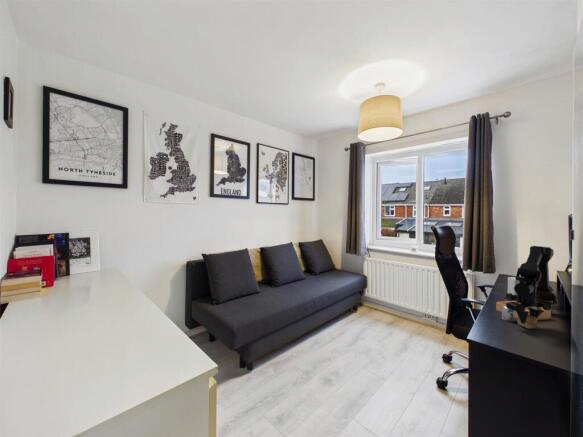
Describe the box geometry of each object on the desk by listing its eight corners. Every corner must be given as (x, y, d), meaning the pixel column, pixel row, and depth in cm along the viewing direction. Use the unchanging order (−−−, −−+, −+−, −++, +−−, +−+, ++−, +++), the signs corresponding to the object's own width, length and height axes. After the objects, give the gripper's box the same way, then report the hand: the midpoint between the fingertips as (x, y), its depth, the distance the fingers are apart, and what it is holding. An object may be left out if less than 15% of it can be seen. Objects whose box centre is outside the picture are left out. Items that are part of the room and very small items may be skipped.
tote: (522, 308, 145) (523, 300, 145) (550, 319, 131) (550, 309, 131) (496, 310, 142) (496, 301, 142) (521, 320, 128) (522, 311, 128)
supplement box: (527, 299, 162) (527, 280, 161) (514, 298, 163) (514, 279, 163) (519, 295, 169) (519, 277, 169) (507, 294, 170) (507, 276, 170)
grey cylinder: (507, 317, 133) (507, 304, 132) (517, 321, 128) (517, 308, 128) (499, 318, 132) (499, 305, 132) (509, 322, 127) (509, 308, 127)
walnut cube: (526, 323, 124) (526, 313, 124) (537, 328, 119) (537, 318, 119) (517, 324, 124) (517, 314, 123) (528, 328, 119) (528, 318, 118)
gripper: (526, 286, 130) (525, 315, 131) (496, 287, 128) (495, 317, 128) (551, 293, 119) (550, 324, 120) (518, 294, 117) (517, 326, 117)
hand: (527, 322), depth 121 cm, fingers closed on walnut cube, 5 cm apart
